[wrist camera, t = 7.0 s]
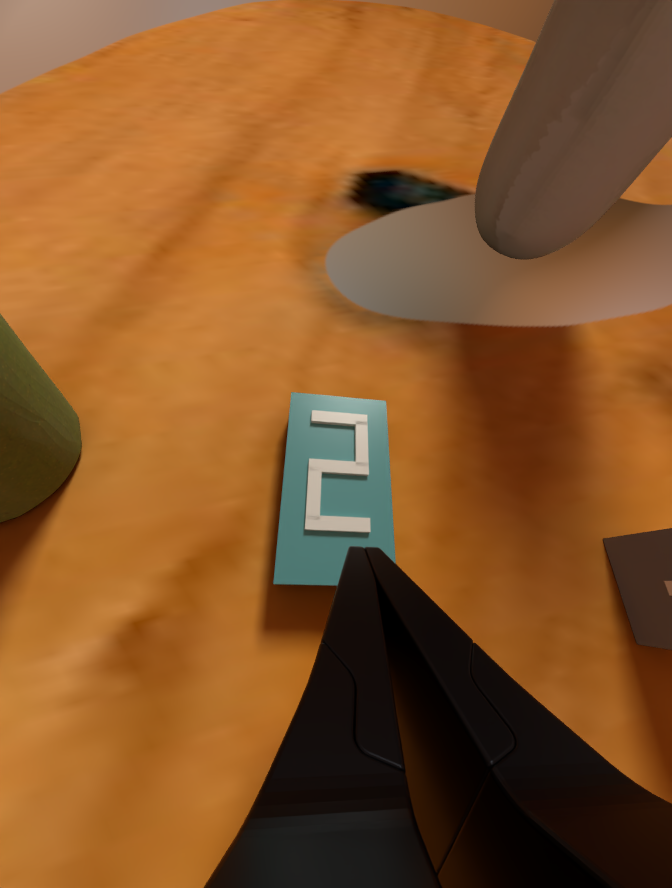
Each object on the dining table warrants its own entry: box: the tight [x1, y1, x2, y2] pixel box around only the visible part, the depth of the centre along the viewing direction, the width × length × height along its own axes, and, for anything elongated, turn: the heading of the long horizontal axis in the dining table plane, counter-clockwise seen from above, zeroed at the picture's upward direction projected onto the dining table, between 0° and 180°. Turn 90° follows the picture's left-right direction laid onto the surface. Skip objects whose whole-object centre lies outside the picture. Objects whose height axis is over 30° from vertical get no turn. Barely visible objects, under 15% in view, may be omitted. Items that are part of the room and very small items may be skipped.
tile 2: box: [273, 392, 396, 586], centre depth 15 cm, size 2×5×9 cm
